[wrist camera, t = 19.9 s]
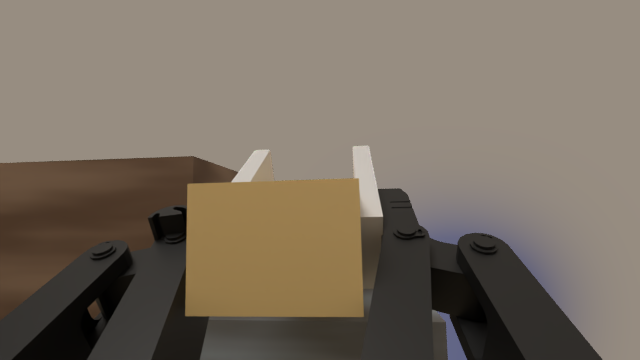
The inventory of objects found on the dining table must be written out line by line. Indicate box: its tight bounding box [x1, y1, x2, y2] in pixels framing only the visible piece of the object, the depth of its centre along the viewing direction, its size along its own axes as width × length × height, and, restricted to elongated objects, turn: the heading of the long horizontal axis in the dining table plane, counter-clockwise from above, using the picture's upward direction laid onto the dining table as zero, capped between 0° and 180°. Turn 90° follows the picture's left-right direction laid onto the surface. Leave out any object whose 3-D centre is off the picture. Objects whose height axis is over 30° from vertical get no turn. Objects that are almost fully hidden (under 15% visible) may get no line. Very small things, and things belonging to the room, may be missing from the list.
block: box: [185, 178, 364, 317], centre depth 16 cm, size 18×5×4 cm, turn 175°
